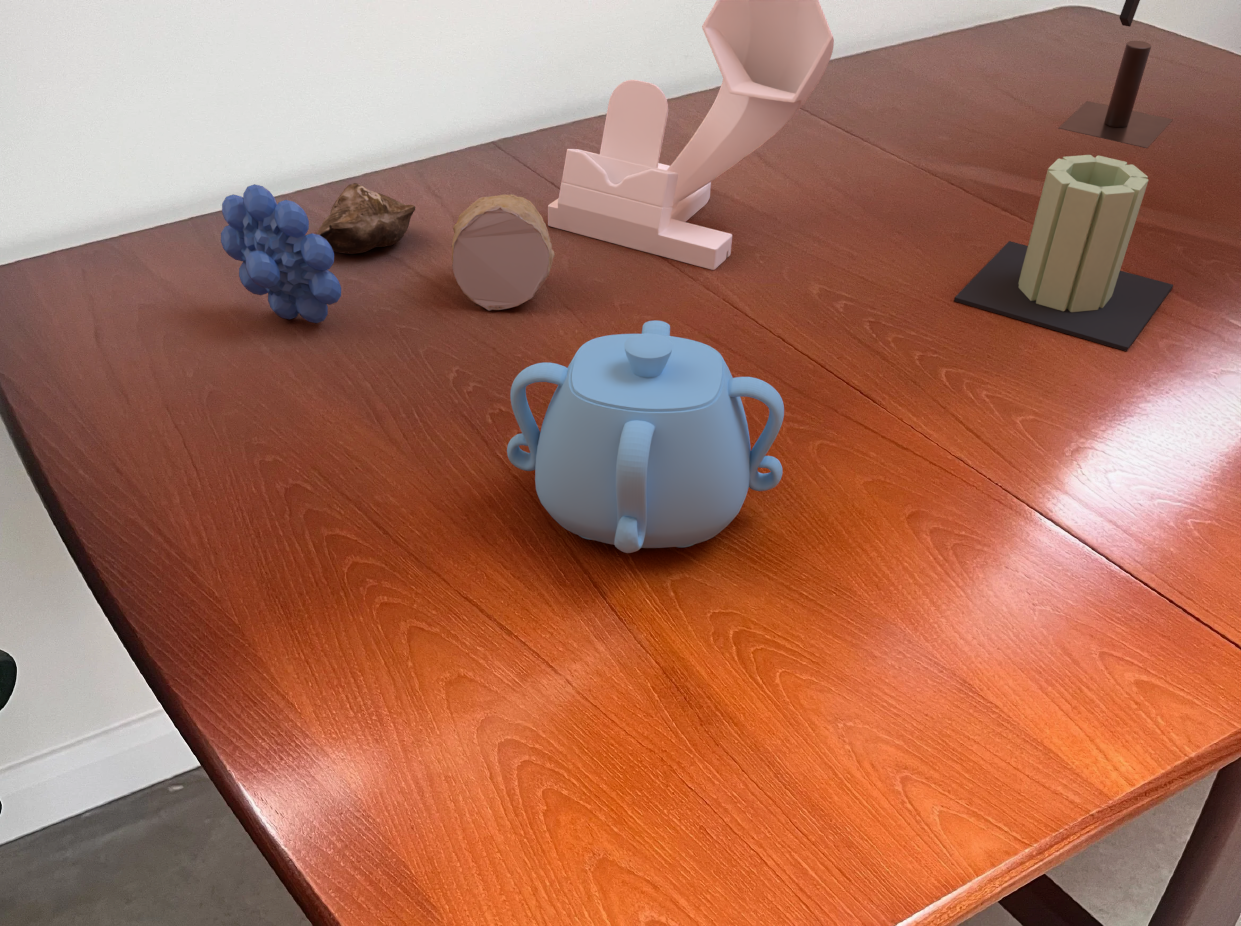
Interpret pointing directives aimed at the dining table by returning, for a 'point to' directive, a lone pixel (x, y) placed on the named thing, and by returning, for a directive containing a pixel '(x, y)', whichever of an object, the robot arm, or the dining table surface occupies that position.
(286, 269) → the grapes
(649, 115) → the phone horn amplifier
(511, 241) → the bark-rimmed wood disc
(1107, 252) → the fluted octagonal tube
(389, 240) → the fossilized seashell
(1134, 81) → the stand
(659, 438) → the decorative pot
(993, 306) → the mat
